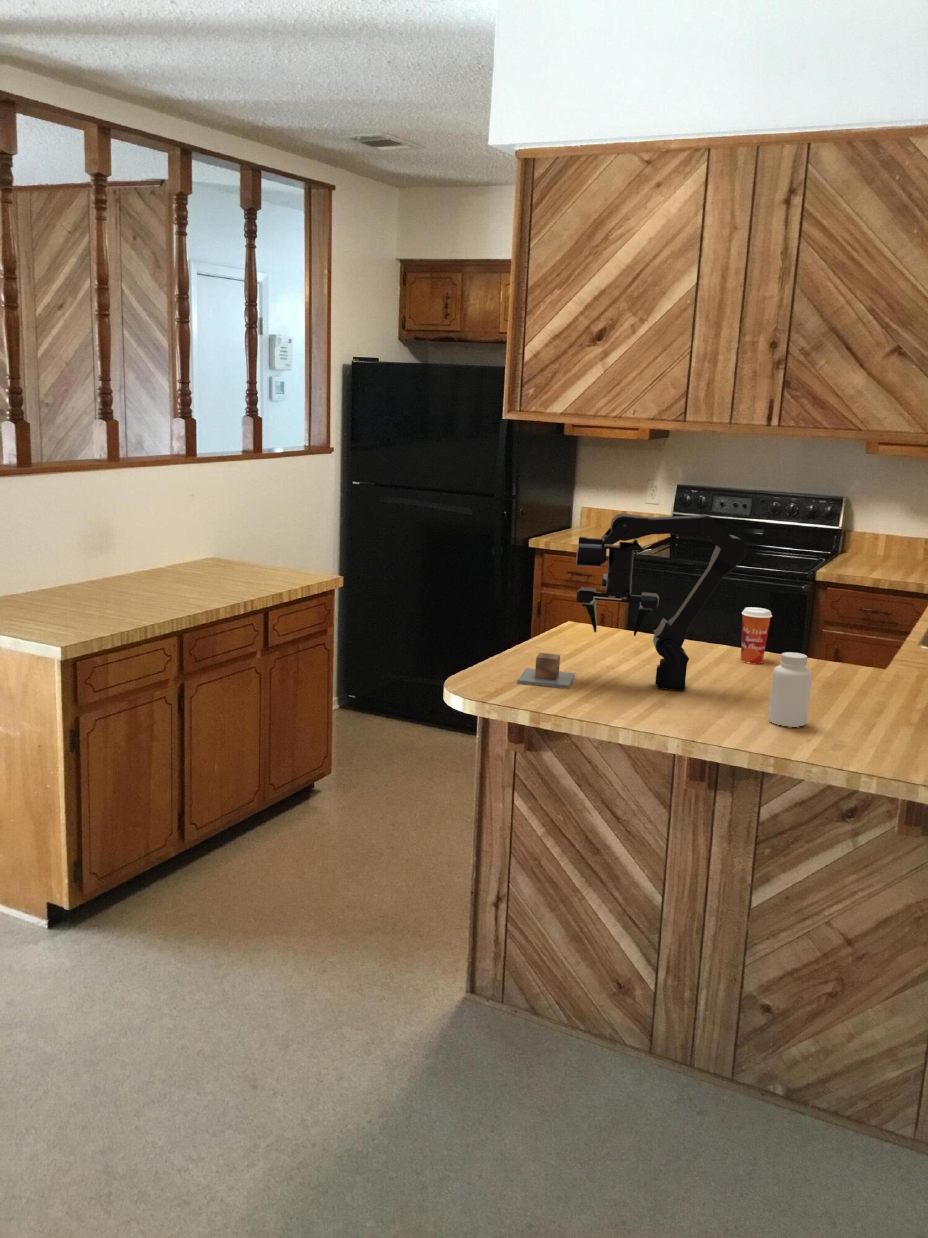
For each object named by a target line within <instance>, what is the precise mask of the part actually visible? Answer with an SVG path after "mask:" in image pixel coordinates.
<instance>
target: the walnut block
mask: <svg viewBox="0 0 928 1238" xmlns="http://www.w3.org/2000/svg"><path fill="white" fill-rule="evenodd" d="M560 662H561V654H555V653H547V652H546V653H545V652H539V653H538V654H537V656H536V657H535V668H534V669H535V678H540V679H549V680H556V679H557V677H558V676H559V671H560V666H561V664H560Z"/></svg>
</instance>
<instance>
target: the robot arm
mask: <svg viewBox="0 0 928 1238" xmlns="http://www.w3.org/2000/svg"><path fill="white" fill-rule="evenodd" d="M696 533H699V534H700V533H701V534H703V535H704V536H705V537H707V538H708V539H709V540H710V541H711V542H712V543H713V544H714V545H715V548H714V550H713V551H712V555H711V557H710V560H709V563H708V565H707V567H706V569H705V571H704V572H703V573H702V575H701V577H700V578H699V579H698V581H697V582H696V583H695V585H694V587H693V588H692V590H691V591H690V593H689V594H688V596H687V597H686V598H685V600H684V601H683V603H682V604H681V606H680V607H679V609H678V610H677V612H676V613H675V614H674V616H672V617H671V618H670V619H669V620H667V619H665V618H664V617H662V619H661V620H660V623H659V625H658V627H656V629H653V634H654V635H653V638H652V641H653V642H652V643H653V646H654V648H655V650H656V652H657V653H658V655H659V656H660V657H662V658H660V660H659V664H657V665H656V671H655V672H656V674H655V685H657V686H656V689H659V690H670V691H677V692H679V691H680V692H686V678H687V670H688V669H687V666H688V662H689V660H690V658H689V656H688V654H687V652H686V650H685V649H684V647H682V646H683V645H684V642H685V640H686V637H687V634H688V630H689V628H690V626H691V624H692V623H693V622H694V620H695V619H696V617H697V616H698V614H699V613H700V611H701V610H702V608H703V607H704V606H705V604H706V603H707V601H708V600H709V599H710V597H711V595H712V594H713V592H714V591H715V590H716V588H717V587H718V585H719V584H720V583H721V581H722V580H723V578H724V577H725V576H727V574H729V573H730V572H732V570H734V569H735V568H736V567H737V566H739V564H741V562H742V561H743V560H744V559H745V557H746V555H747V551H748V550H747V545H746V544H745V542H744V541H743V540H742V539H740V538H739V537H738V536H736V535H732V534H729V533H728V532H726V530H724V528H722V527H721V526H720V525H719V524H718V523H717V522H715V520H714V519H713V517H712V516H710V515H709V514H704V513H702V514H699V515H681V516H680V515H679V516H678V515H676V516H675V515H673V516H655V517H650V516H644V515H640V514H633V513H632V514H631V513H625V512H622V513H618V514H615V516H613V518H612V519H611V521H610V526H609V528H608V529H607V531H605V532H604V534H603V535H602V536H601V538H597V537H587V536H579V537H578V543H577V544H578V545H577V549H576V557H575V558H576V560H575V563H576V564H575V565H576V566H577V567H589V568H590V567H592V568H601V565H603V564H606V560H607V559H608V560H607V573H603V574H602V579H601V580H602V581H601V588H602V589H603V588H604V589H605V592H600V591H597V588H594V587H585V586H584V587H583V586H582V587H580V588H579V589H578V590H577V593H576V602H577V603H579V604H580V603H581V606H582V607H585V608H586V611H587V613H588V615H589V618H590V621H591V626H592V629H593V632H594V633H597V632H598V631H597V630H598V618H597V601H605V602H617V603H618V602H619V603H629V604H639V607H638V611H637V614H636V615H637V616H636V621H635V625H634V629H633V637H636V635H637V633H638V631H639V628H640V626H641V624H642V622H643V619H644V618H645V616H646V614H647V613H652V610H656V609H657V610H658V607H659V601H660V596H659V595H658V593H656V592H655V593H654V592H645V591H643V592H641V595H636V594H632V590H633V581H632V580H633V579H632V578H633V567H634V566H633V565H634V556H635V555H634V554H635V553H634V552H635V551H643V550H644V549H643V547H642V545H641V544H639V542H638V540H637V539H641V538H643V537H647V536H652V535H668V534H670V535H671V534H672V535H673V534H696ZM631 540H633V541H631ZM616 543H618V544H616ZM607 550H608V558H607Z"/></svg>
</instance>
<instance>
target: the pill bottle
mask: <svg viewBox="0 0 928 1238" xmlns="http://www.w3.org/2000/svg"><path fill="white" fill-rule="evenodd" d="M779 662H780V664H779V665H777V666H775V667H774V668H773V671H772V678H771V690H770V698H769V709H768V721H769V722H770V723H771V722H772V723H771V724H773V723H775V724H777V725H776V726H779V725H783V726H788V727H787V728H792V727H797V728H799V727H798V726H803V725H805V724H806V725H807V723H808V718H809V707H810V699H811V697H810V696H811V689H812V688H811V687H812V679H813V678H812V676H813V675H812V672H811V670H810V669H809V668H808V667H807V665H808V664H807V663H808V656H807V655H806V654H804V653H800V652H791V651H788V652H787V651H786V652H782V653H781V655H780V661H779ZM775 724H774V725H775ZM806 725H805V726H806ZM783 726H782V727H783ZM803 727H804V726H803Z"/></svg>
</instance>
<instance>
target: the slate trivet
mask: <svg viewBox="0 0 928 1238" xmlns="http://www.w3.org/2000/svg"><path fill="white" fill-rule="evenodd" d="M535 669H536V668H531V667H530V668H529V667H525V669H524V670H523V672H522V674H521V675H520V676H519V677H518V679H517V684H519V685H528V684H534V685H533V686H537V685H542V686H541V687H547V686H552V687H551V688H556V687H557V688H558V689H566V688H567V689H568V690H569V689H570V688H571V685H572V683H573V681H574V679H575V677H576V672H568V671H560V670H559V676H558V677H557V679H556V680H549V679H540V678H535Z"/></svg>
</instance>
